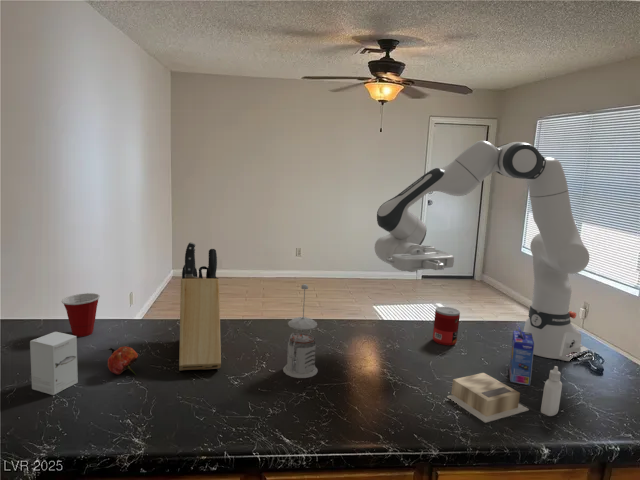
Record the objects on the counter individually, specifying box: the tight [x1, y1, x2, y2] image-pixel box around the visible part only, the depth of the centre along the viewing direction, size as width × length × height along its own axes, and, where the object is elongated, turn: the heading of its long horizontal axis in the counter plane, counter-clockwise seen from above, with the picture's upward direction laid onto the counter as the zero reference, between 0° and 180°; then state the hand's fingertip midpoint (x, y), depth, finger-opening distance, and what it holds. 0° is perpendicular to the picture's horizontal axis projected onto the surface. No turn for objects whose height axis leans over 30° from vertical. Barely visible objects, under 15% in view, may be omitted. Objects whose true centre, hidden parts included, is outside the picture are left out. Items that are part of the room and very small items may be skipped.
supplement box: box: [29, 331, 79, 396], centre depth 118 cm, size 7×7×13 cm
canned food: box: [432, 306, 461, 346], centre depth 163 cm, size 8×8×11 cm
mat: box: [447, 394, 530, 424], centre depth 123 cm, size 15×13×1 cm
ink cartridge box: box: [508, 326, 534, 386], centre depth 138 cm, size 10×6×14 cm, turn 161°
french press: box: [282, 283, 318, 379], centre depth 133 cm, size 10×12×25 cm
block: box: [451, 372, 521, 416], centre depth 123 cm, size 11×4×12 cm
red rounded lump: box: [107, 346, 139, 376], centre depth 128 cm, size 7×7×10 cm
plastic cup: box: [61, 292, 101, 338], centre depth 152 cm, size 11×11×12 cm
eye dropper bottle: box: [540, 365, 563, 417], centre depth 120 cm, size 4×6×12 cm
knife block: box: [178, 241, 222, 371], centre depth 143 cm, size 11×35×31 cm, turn 15°
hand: (440, 267), depth 139 cm, fingers closed
